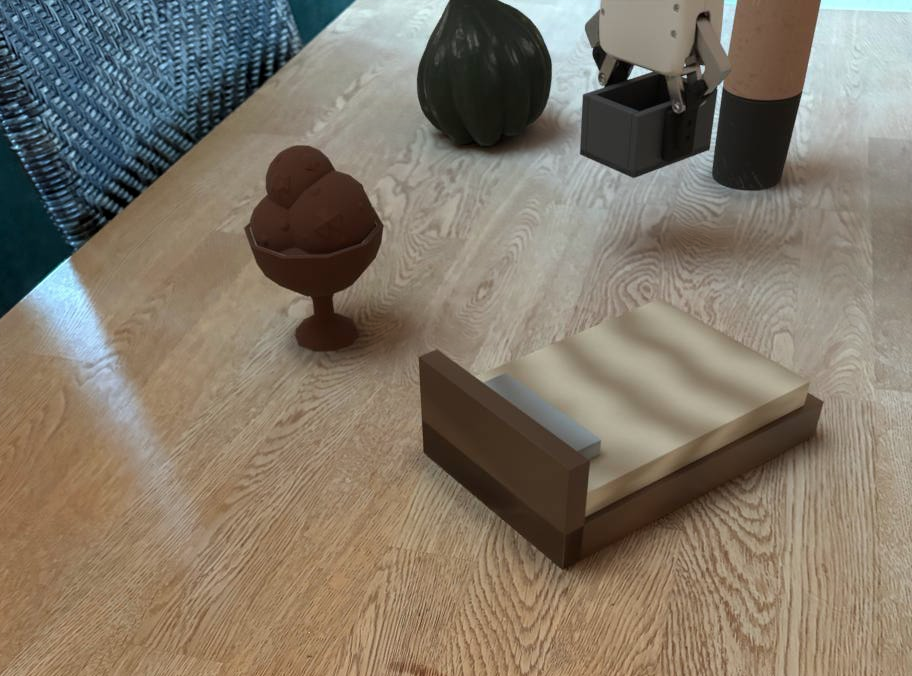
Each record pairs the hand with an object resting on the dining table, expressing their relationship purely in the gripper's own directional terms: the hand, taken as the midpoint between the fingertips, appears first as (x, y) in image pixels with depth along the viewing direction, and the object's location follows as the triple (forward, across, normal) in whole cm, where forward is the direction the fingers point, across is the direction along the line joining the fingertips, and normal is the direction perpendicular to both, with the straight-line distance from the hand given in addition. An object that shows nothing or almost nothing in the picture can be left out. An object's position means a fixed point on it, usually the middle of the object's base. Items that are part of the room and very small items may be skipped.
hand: (645, 142), depth 90 cm
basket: (+1, 0, 0) cm, 1 cm away
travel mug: (+10, +4, -20) cm, 22 cm away
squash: (+9, +32, -6) cm, 33 cm away
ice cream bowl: (+9, +4, +31) cm, 33 cm away
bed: (+10, -22, +22) cm, 33 cm away
